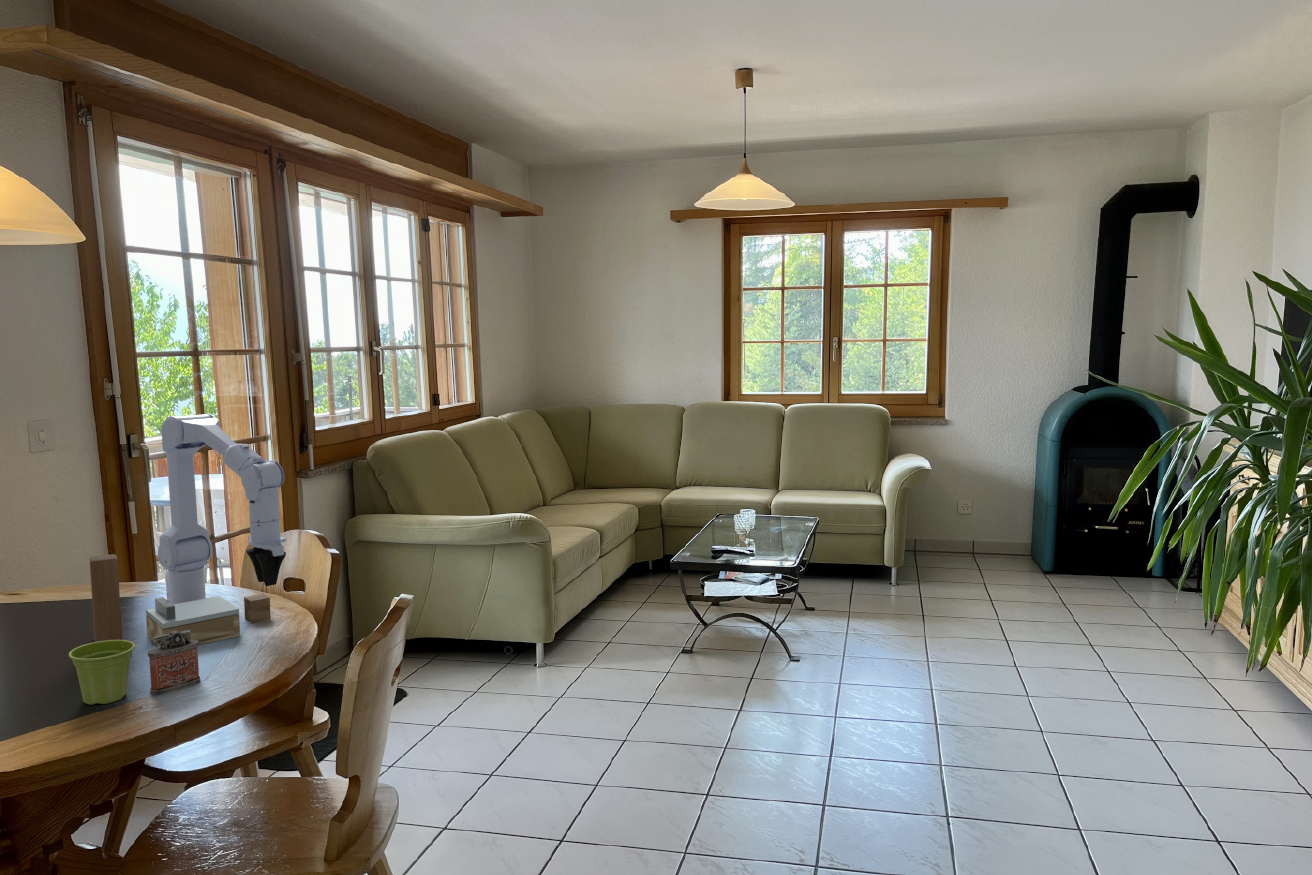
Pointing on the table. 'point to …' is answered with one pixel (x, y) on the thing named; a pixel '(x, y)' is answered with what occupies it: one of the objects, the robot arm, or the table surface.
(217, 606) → the toolbox lid
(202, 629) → the brown piece
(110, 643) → the plant pot
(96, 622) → the wooden block
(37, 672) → the table surface
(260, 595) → the small brown block
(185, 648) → the lighter
